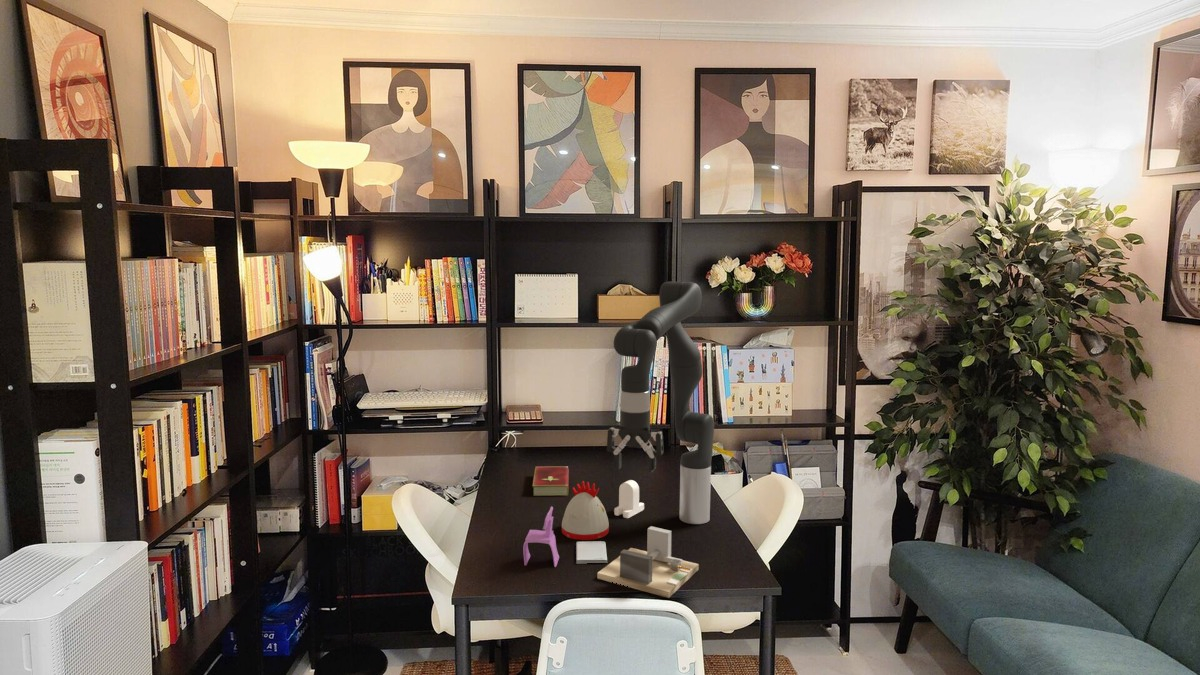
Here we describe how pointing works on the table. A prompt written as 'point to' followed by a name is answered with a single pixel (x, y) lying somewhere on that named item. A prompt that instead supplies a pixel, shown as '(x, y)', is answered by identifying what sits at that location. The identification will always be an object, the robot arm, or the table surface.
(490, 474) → the table surface
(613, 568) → the bench
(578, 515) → the kitchen timer
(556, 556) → the toy chair
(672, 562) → the grey block with pin
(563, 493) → the hardcover book
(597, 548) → the hard drive
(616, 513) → the cable organizer
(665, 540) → the upright plate with peg
